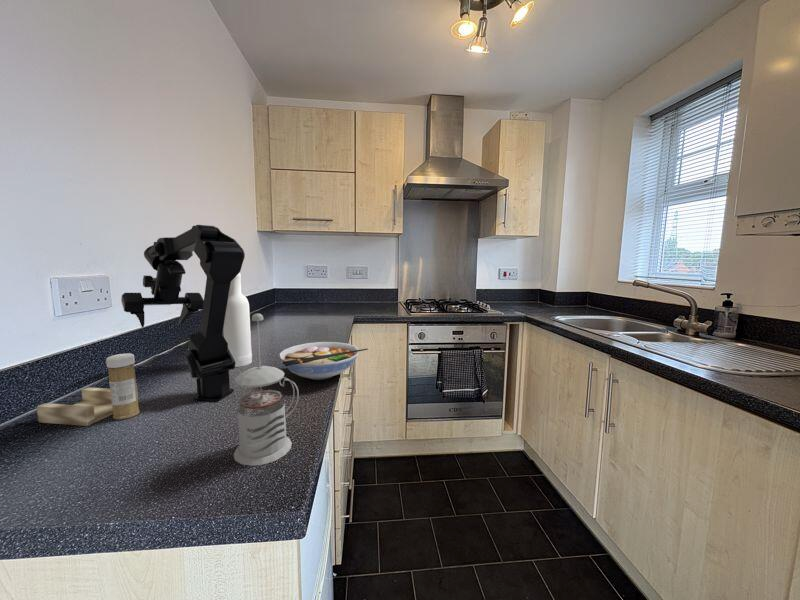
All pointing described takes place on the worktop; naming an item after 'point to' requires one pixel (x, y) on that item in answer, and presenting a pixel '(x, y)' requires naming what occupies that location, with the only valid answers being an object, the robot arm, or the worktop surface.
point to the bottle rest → (79, 409)
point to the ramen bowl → (319, 359)
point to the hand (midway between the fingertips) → (161, 325)
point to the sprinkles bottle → (123, 385)
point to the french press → (262, 415)
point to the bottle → (238, 324)
